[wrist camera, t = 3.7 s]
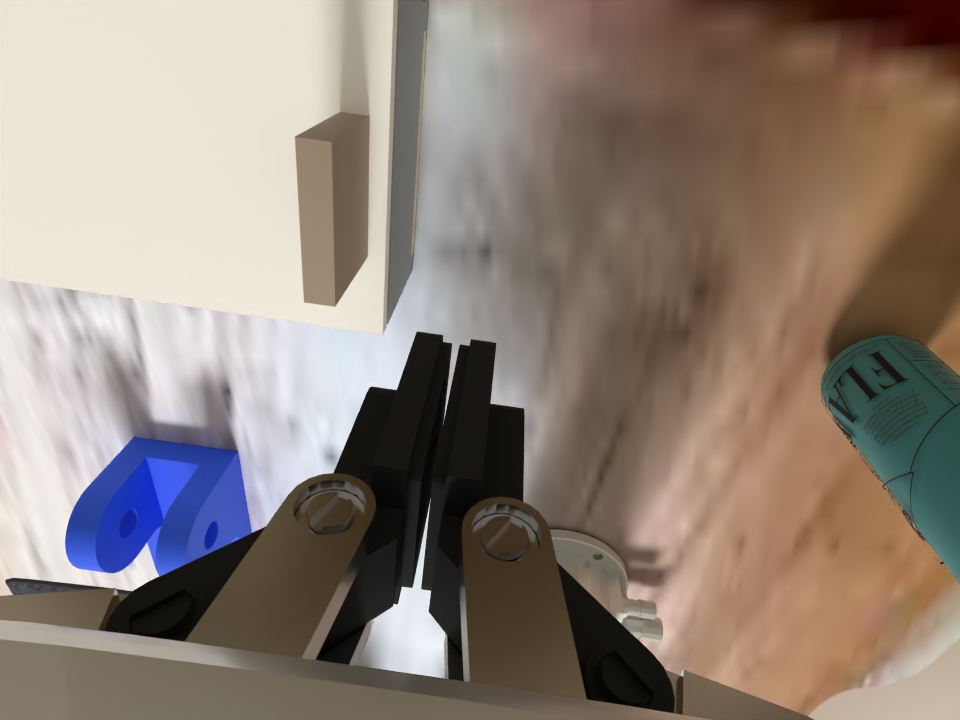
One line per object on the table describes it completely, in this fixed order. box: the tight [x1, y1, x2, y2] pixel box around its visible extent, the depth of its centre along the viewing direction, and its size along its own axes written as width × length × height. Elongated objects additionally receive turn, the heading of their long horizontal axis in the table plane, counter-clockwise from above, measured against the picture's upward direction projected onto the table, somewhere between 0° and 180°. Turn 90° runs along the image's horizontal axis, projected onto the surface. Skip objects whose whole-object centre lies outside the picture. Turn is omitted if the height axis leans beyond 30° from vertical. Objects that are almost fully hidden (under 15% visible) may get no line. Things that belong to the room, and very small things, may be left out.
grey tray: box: [386, 0, 429, 324], centre depth 28 cm, size 22×14×7 cm, turn 83°
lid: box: [0, 0, 398, 335], centre depth 22 cm, size 22×14×6 cm, turn 83°
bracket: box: [65, 437, 251, 576], centre depth 45 cm, size 18×8×9 cm, turn 174°
